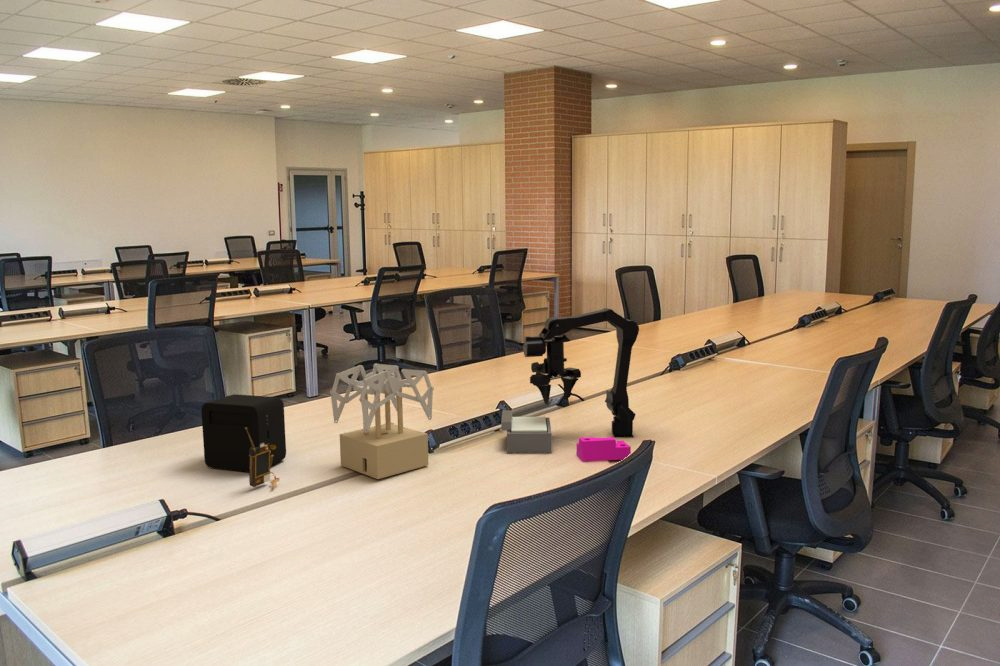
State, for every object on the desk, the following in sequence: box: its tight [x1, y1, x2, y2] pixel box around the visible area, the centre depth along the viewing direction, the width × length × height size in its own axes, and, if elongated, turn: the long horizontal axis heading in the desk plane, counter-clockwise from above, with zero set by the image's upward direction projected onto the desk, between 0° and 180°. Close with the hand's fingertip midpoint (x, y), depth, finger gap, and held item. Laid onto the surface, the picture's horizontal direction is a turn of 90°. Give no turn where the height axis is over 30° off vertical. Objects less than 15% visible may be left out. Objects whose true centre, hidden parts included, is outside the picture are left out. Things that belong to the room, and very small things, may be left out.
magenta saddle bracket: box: [575, 436, 632, 463], centre depth 237 cm, size 15×6×8 cm
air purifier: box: [200, 393, 287, 473], centre depth 234 cm, size 20×15×20 cm
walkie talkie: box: [245, 427, 281, 489], centre depth 215 cm, size 13×13×18 cm
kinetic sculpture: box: [329, 363, 435, 480], centre depth 230 cm, size 25×20×30 cm
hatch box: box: [506, 416, 553, 454], centre depth 252 cm, size 14×21×6 cm, turn 178°
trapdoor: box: [500, 409, 547, 432], centre depth 252 cm, size 14×18×3 cm
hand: (556, 401), depth 256 cm, fingers open, 9 cm apart
